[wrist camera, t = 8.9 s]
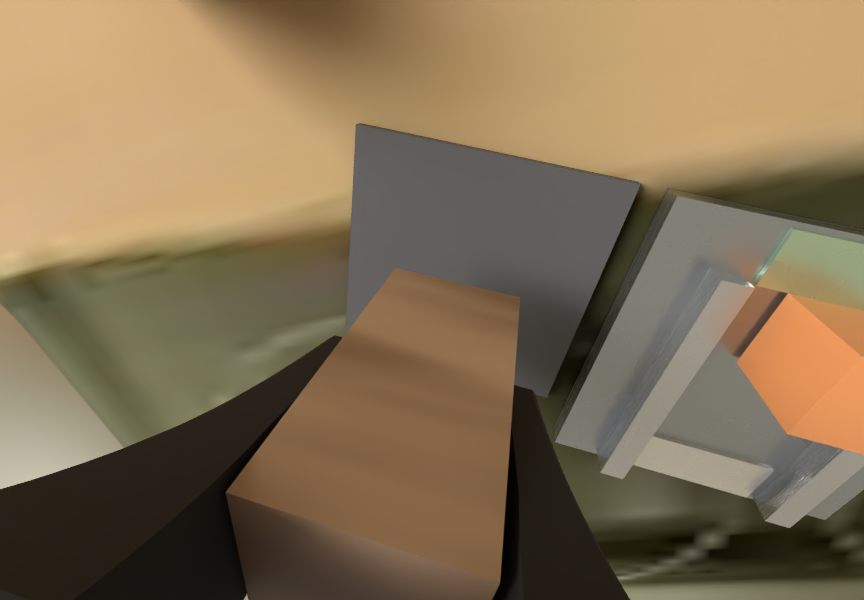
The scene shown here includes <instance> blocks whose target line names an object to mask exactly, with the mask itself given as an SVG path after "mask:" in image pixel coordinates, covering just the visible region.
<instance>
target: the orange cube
mask: <svg viewBox="0 0 864 600" xmlns="http://www.w3.org/2000/svg"><path fill="white" fill-rule="evenodd" d="M737 364H738V365H739V366H740V368H741V369H742V371H743V372H744V374H745V375H746V376H747V378H748V379H749V381H750V382H751V384H752V385H753V386H754V388H755V389H756V391H757V392H758V394H759V395H760V396H761V398H762V399H763V401H764V402H765V404H766V405H767V406H768V408H769V409H770V411H771V412H772V413H773V415H774V416H775V418H776V419H777V421H778V422H779V423H780V425H781V426H782V428H783V429H784V431H785V432H786V433H787V434H789V435H792V436H796V437H800V438H804V439H807V440H811V441H815V442H818V443H822V444H826V445H830V446H833V447H837V448H841V449H844V450H848V451H852V452H856V453H859V454H863V455H864V311H863V310H858V309H854V308H850V307H846V306H841V305H837V304H833V303H828V302H824V301H820V300H815V299H811V298H807V297H802V296H798V295H794V294H789V293H788V294H787V296H786V297H785V298H784V300H783V301H782V302H781V304H780V305H779V306H778V308H777V309H776V310H775V312H774V313H773V314H772V316H771V317H770V318H769V320H768V321H767V322H766V324H765V325H764V326H763V328H762V329H761V330H760V332H759V333H758V334H757V336H756V337H755V338H754V340H753V341H752V342H751V344H750V345H749V346H748V348H747V349H746V350H745V352H744V353H743V354H742V356H741V357H740V358H739V359H738V361H737Z"/></svg>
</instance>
